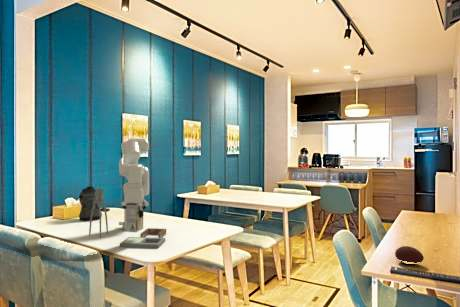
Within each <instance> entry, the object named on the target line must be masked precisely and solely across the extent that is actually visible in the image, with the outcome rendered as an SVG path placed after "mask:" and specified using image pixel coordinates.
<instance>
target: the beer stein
mask: <svg viewBox="0 0 460 307" xmlns="http://www.w3.org/2000/svg"><path fill="white" fill-rule="evenodd" d="M95 191H96V189H95V187H94V186H86V188H82V190H81V192H80V194H79V195H78V199H79V203H80V205H81V206H80V212H79V215H78V218H79V221H80V222H90V218H91V212H92V207H93V203H94V200H96V197H95ZM102 215H103V213H102V212H101V217H102ZM94 221H100V209H99V207H98V204H97V203H95V207H94V211H93V216H92V222H94Z"/></svg>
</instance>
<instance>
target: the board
mask: <svg viewBox="0 0 460 307" xmlns="http://www.w3.org/2000/svg"><path fill="white" fill-rule="evenodd" d="M165 242H166V237H163V238H158V237H147V236H146V237H140V236H139V237H138V236H128V237H126V239H124V240H122V241H121V242H119V248H140V249H141V248H142V249H143V248H144V249H145V248H146V249H159V248H160V247H161V246H162V245H163V244H164V243H165Z"/></svg>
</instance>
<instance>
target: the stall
mask: <svg viewBox="0 0 460 307" xmlns="http://www.w3.org/2000/svg"><path fill="white" fill-rule="evenodd" d="M149 235H158V237H157V238H165V236H166V235H167V228H157V227H156V228H149V227H148V228H146V229H145V230H144V231H142V232H141V233H140V234H139V237H147V236H149Z"/></svg>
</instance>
